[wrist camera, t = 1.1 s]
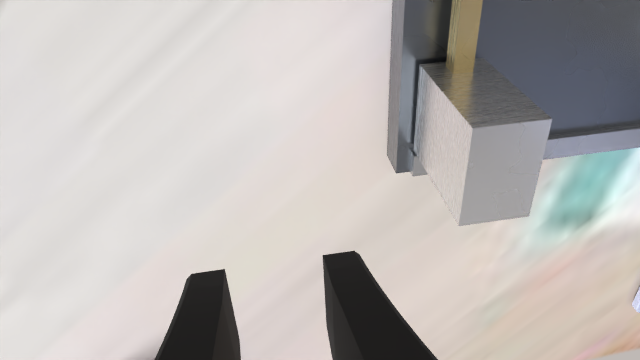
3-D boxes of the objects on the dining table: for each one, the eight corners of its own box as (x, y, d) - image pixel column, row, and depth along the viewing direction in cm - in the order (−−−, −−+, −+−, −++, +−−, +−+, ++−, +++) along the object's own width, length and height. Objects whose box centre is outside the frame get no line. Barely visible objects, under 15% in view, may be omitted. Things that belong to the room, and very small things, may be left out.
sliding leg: (495, -25, 14) (576, 19, 11) (471, 142, 17) (528, 216, 14) (425, -19, 14) (487, 28, 11) (413, 149, 17) (458, 225, 14)
